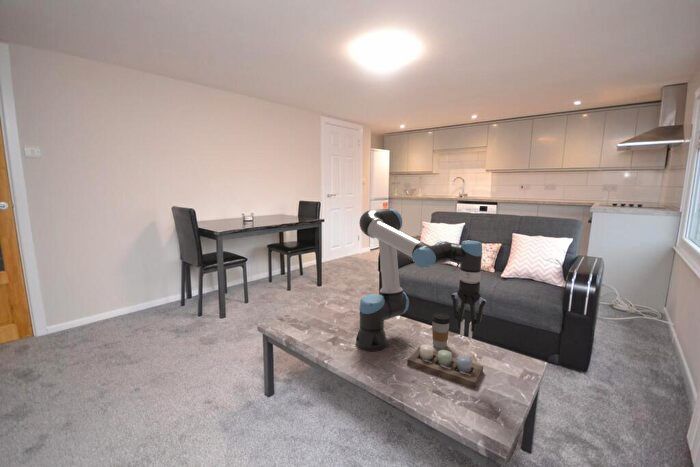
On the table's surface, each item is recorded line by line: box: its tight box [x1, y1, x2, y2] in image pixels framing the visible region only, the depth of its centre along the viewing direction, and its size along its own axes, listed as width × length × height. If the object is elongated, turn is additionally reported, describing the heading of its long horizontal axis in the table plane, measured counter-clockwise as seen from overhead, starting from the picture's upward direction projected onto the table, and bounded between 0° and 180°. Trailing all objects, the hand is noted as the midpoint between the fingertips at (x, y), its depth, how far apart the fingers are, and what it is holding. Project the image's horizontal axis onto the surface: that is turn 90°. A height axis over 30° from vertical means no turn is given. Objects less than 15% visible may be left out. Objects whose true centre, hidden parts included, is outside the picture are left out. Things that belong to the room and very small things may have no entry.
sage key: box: [437, 349, 453, 367], centre depth 135 cm, size 6×6×4 cm
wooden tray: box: [406, 346, 484, 389], centre depth 136 cm, size 28×13×2 cm, turn 56°
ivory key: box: [419, 344, 434, 361], centre depth 140 cm, size 6×6×4 cm
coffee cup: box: [431, 312, 451, 350], centre depth 153 cm, size 8×8×15 cm
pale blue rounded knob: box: [456, 355, 473, 373], centre depth 131 cm, size 6×6×4 cm
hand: (466, 337), depth 129 cm, fingers open, 3 cm apart
